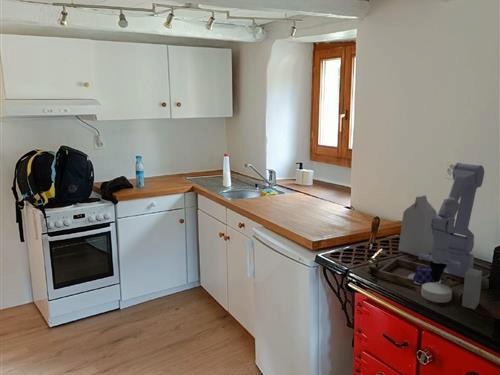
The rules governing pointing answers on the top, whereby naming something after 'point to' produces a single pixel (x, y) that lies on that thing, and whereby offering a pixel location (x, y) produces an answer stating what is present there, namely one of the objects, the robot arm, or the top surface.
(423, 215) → the milk
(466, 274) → the skincare box
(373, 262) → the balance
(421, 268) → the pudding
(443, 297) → the white short cylinder
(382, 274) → the holder
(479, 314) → the top surface
